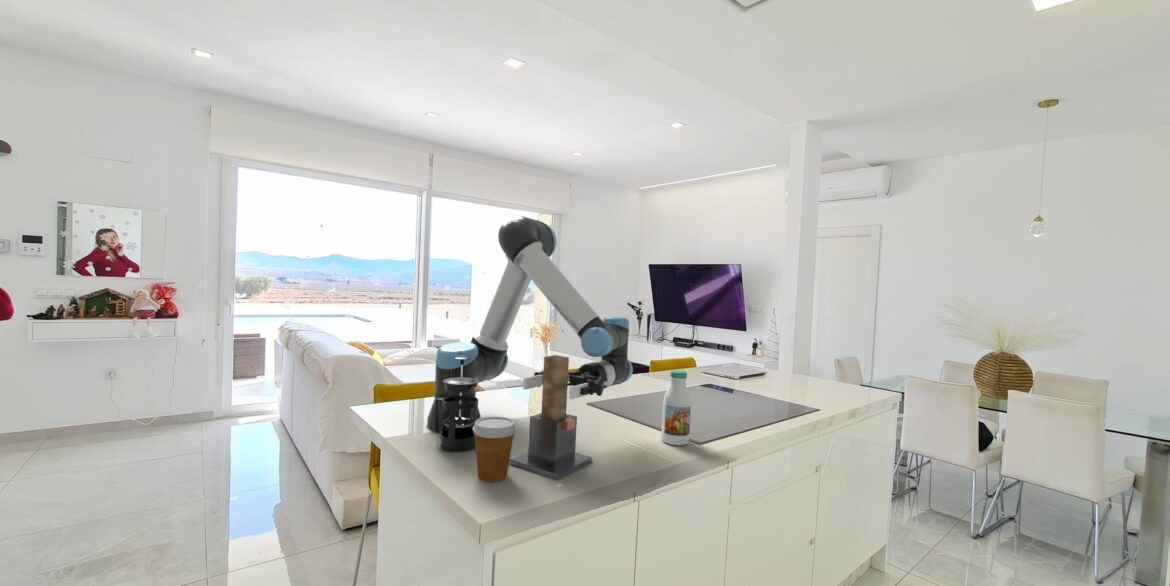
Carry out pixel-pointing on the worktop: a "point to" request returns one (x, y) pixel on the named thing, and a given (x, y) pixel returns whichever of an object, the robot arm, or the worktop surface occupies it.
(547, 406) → the post
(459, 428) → the french press
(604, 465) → the worktop surface
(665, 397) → the milk bottle
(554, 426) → the stand
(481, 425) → the disposable coffee cup
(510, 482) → the worktop surface
